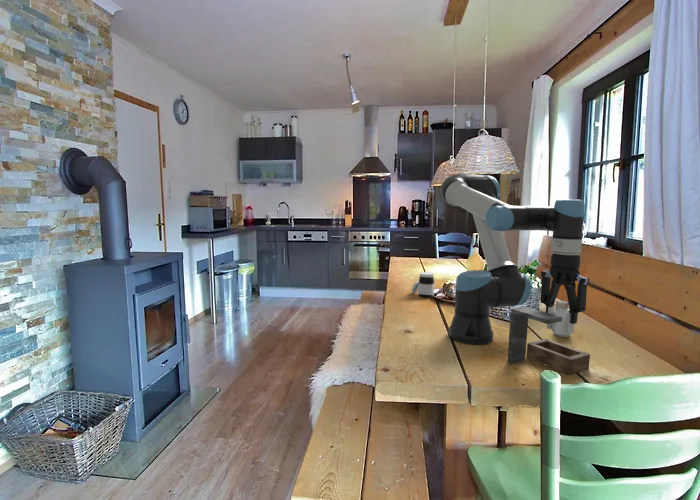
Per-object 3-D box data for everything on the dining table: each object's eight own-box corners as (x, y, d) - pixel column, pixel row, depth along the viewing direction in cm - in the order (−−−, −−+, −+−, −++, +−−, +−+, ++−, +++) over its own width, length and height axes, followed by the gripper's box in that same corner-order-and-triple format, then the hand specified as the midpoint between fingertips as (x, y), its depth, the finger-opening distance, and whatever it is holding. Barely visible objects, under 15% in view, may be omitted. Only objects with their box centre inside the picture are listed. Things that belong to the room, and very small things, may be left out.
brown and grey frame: (507, 362, 118) (511, 308, 115) (545, 352, 126) (549, 301, 124) (550, 381, 105) (555, 322, 103) (588, 368, 114) (594, 313, 111)
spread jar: (433, 299, 191) (434, 275, 190) (410, 297, 194) (410, 274, 192) (434, 293, 203) (434, 271, 201) (412, 291, 206) (412, 270, 204)
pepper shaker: (553, 334, 115) (556, 303, 114) (550, 330, 119) (553, 299, 117) (568, 336, 114) (571, 304, 112) (565, 331, 117) (567, 300, 116)
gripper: (529, 250, 119) (524, 324, 122) (589, 258, 103) (582, 342, 106) (545, 249, 123) (540, 320, 126) (606, 256, 107) (598, 338, 110)
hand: (559, 330), depth 116 cm, fingers closed on pepper shaker, 5 cm apart
